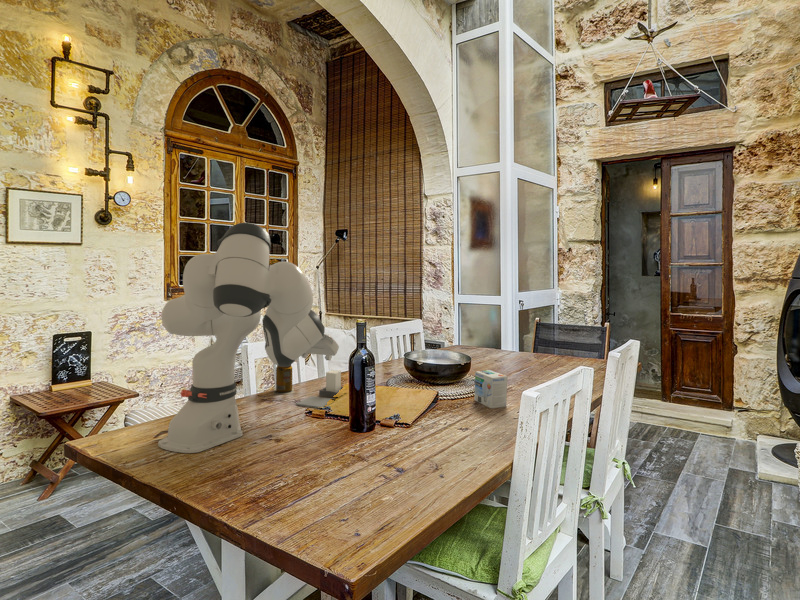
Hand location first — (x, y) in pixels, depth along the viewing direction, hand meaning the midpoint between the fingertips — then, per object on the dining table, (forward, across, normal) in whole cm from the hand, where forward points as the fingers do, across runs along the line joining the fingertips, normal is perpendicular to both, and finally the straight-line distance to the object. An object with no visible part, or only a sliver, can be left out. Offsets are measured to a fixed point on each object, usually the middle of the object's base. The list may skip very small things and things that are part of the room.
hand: (317, 357), depth 165 cm
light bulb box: (+29, -56, -6) cm, 63 cm away
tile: (+11, 0, +11) cm, 16 cm away
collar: (+20, 0, +3) cm, 20 cm away
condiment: (+17, +19, +6) cm, 26 cm away
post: (+20, 0, +3) cm, 20 cm away
